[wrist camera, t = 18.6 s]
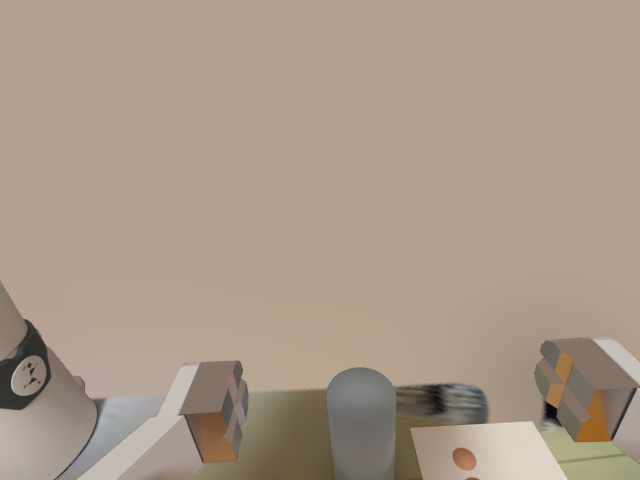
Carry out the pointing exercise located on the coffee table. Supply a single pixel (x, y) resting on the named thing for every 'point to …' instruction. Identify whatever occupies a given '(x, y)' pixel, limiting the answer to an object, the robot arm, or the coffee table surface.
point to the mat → (484, 452)
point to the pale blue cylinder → (362, 425)
